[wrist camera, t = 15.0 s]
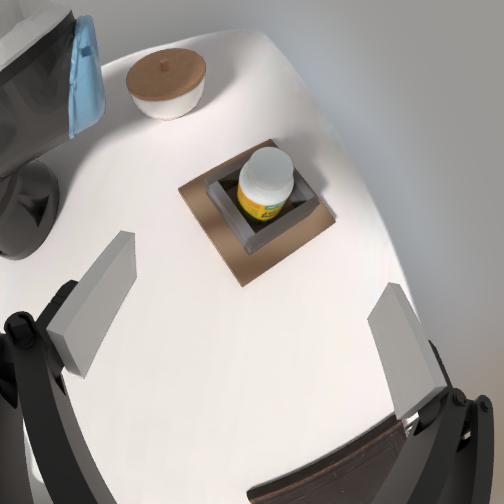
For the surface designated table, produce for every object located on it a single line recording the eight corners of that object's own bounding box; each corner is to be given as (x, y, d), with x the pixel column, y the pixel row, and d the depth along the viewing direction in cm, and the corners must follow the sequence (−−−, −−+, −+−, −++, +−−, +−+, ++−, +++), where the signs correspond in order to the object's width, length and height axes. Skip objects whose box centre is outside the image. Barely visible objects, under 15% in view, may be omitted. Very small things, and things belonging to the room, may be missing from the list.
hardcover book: (410, 474, 28) (417, 479, 26) (287, 541, 24) (290, 549, 22) (392, 413, 31) (400, 417, 28) (245, 489, 26) (247, 498, 24)
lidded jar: (126, 107, 36) (110, 65, 26) (181, 74, 38) (176, 32, 29) (161, 145, 35) (147, 100, 25) (221, 106, 37) (222, 60, 28)
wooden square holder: (179, 192, 33) (173, 173, 28) (269, 143, 36) (276, 120, 31) (242, 287, 32) (246, 282, 27) (332, 224, 35) (349, 210, 30)
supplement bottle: (258, 176, 34) (271, 130, 24) (289, 206, 33) (313, 168, 24) (226, 203, 32) (228, 161, 23) (258, 235, 32) (273, 203, 23)
